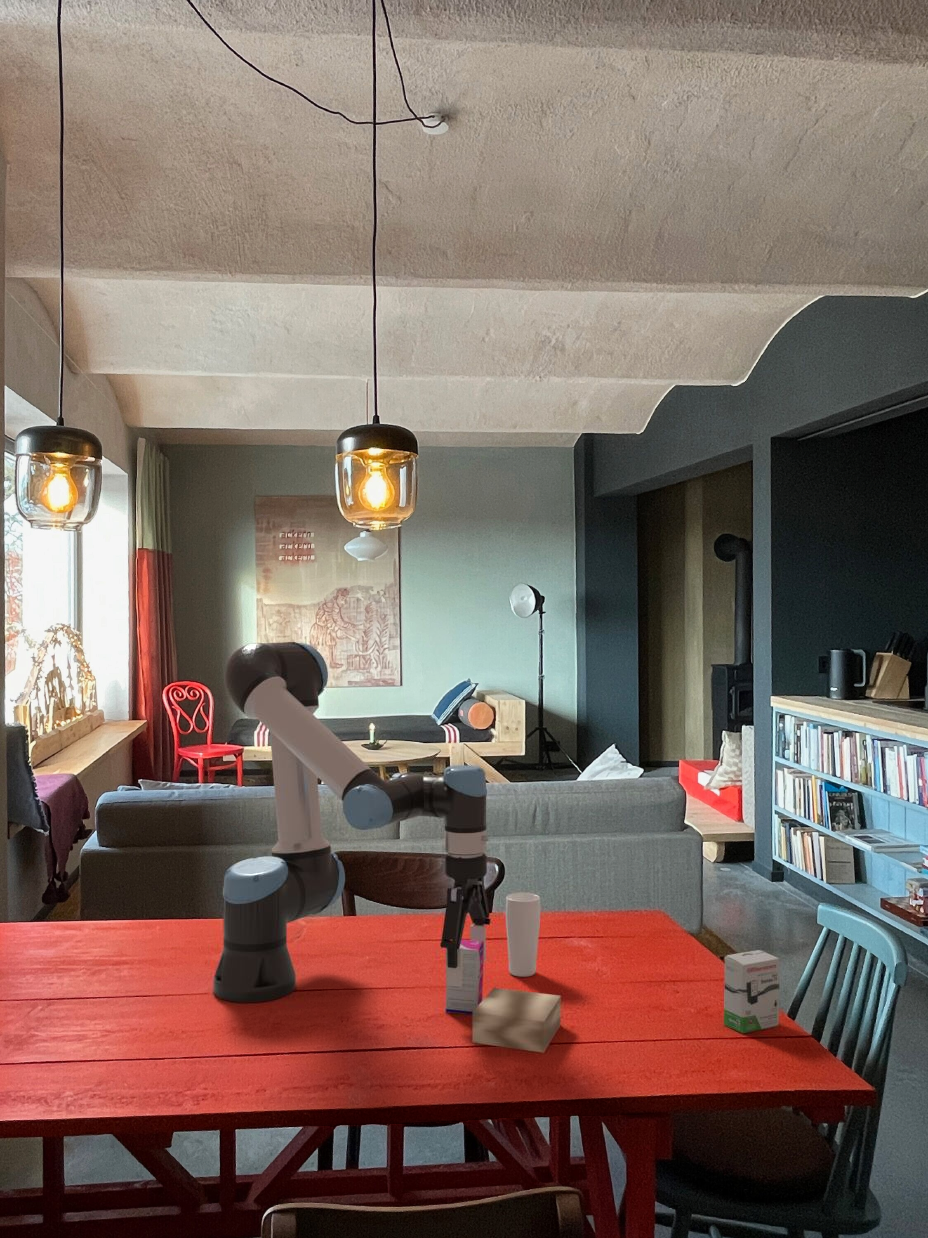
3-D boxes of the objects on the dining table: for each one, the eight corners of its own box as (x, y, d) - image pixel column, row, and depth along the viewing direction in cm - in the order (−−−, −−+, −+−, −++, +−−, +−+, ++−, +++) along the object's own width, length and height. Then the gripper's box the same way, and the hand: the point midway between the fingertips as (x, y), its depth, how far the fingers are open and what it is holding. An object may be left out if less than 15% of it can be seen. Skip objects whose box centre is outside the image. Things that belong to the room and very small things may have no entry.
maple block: (472, 1042, 170) (472, 1012, 170) (493, 1016, 181) (493, 987, 181) (543, 1052, 166) (543, 1021, 166) (560, 1025, 178) (560, 996, 178)
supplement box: (477, 1015, 182) (478, 950, 182) (444, 1012, 183) (445, 947, 183) (483, 1003, 188) (484, 940, 188) (451, 1001, 189) (452, 938, 189)
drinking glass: (500, 976, 202) (500, 899, 202) (511, 965, 208) (512, 891, 208) (533, 981, 199) (533, 903, 199) (544, 970, 205) (544, 894, 205)
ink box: (742, 1035, 174) (742, 964, 174) (722, 1024, 179) (722, 955, 179) (780, 1026, 178) (781, 956, 178) (760, 1016, 183) (760, 948, 183)
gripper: (463, 870, 172) (464, 998, 172) (505, 841, 196) (506, 953, 196) (421, 867, 175) (422, 994, 174) (467, 838, 198) (468, 950, 198)
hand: (466, 973), depth 185 cm, fingers open, 13 cm apart
